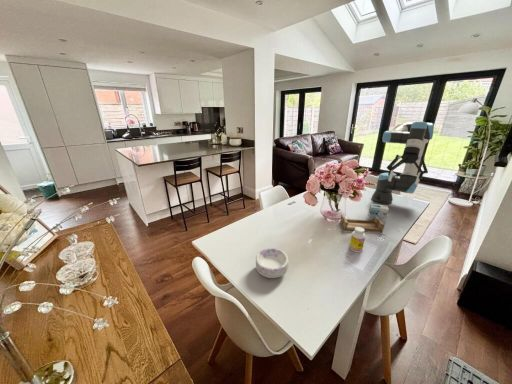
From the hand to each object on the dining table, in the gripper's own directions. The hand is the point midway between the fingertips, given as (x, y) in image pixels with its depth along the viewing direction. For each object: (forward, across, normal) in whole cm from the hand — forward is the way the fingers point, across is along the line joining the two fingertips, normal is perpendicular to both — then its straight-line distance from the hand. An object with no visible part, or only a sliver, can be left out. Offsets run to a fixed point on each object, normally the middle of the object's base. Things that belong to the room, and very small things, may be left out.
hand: (402, 182), depth 123 cm
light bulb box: (+25, -13, +17) cm, 33 cm away
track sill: (+33, -16, +1) cm, 36 cm away
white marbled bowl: (+64, -25, -63) cm, 93 cm away
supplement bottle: (+44, -7, -20) cm, 49 cm away
